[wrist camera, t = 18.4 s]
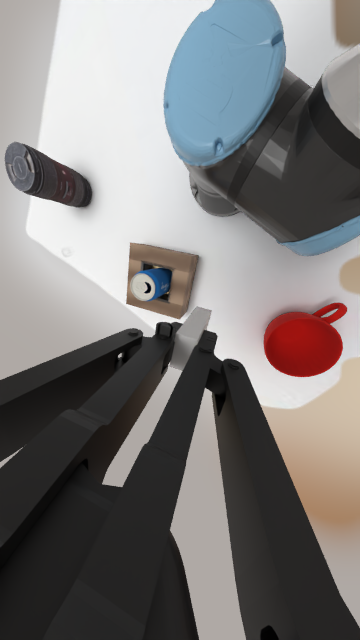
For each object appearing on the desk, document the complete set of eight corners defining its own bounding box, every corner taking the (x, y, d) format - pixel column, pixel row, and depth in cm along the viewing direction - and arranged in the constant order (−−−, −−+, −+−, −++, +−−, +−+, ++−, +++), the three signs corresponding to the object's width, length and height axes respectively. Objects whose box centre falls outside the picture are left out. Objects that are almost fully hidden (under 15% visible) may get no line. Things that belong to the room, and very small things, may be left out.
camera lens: (86, 167, 45) (21, 130, 31) (98, 202, 47) (42, 182, 33) (64, 181, 48) (-5, 152, 34) (76, 214, 50) (16, 199, 36)
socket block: (143, 244, 47) (130, 242, 41) (198, 255, 44) (192, 256, 38) (138, 298, 53) (126, 303, 47) (186, 311, 50) (179, 319, 44)
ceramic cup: (351, 314, 39) (385, 332, 30) (288, 362, 46) (301, 388, 37) (302, 278, 39) (321, 285, 30) (248, 331, 47) (250, 350, 38)
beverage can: (173, 294, 48) (155, 306, 37) (152, 289, 49) (127, 299, 38) (177, 269, 45) (158, 274, 35) (154, 264, 47) (129, 268, 36)
